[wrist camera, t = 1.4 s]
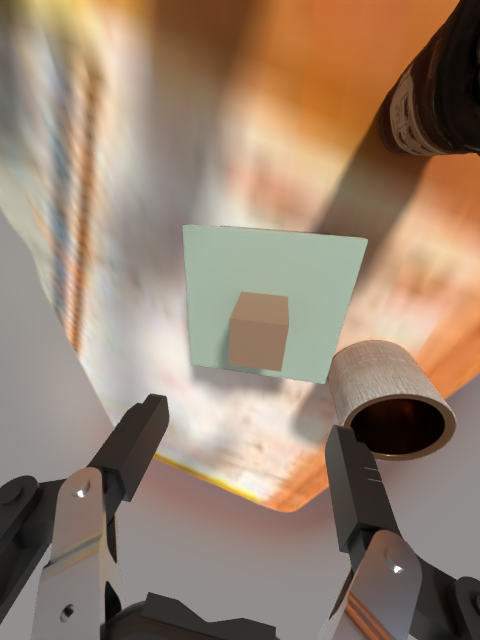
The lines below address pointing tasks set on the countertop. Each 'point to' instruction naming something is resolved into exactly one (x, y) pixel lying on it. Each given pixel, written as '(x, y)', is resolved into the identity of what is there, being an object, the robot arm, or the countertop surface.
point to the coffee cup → (439, 92)
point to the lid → (268, 298)
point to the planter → (389, 402)
